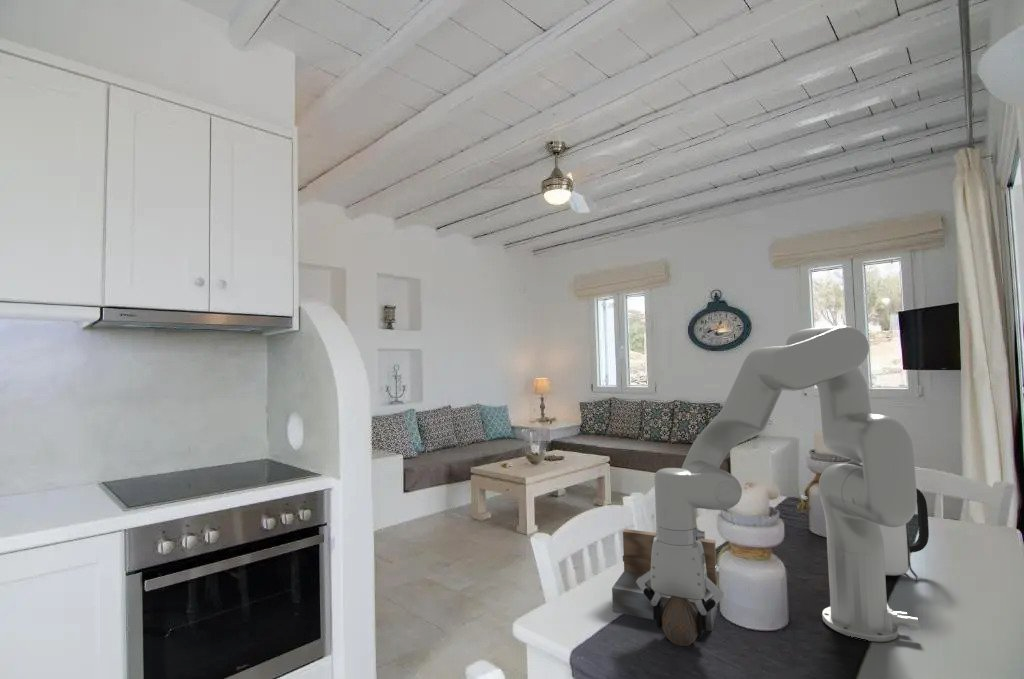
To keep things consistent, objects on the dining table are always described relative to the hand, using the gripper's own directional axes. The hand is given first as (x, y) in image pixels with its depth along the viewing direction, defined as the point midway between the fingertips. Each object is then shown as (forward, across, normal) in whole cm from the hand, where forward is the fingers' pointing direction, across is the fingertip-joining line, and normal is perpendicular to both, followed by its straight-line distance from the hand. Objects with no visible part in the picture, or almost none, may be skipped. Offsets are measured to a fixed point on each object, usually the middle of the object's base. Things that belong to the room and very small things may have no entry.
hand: (680, 628), depth 99 cm
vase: (+3, 0, 0) cm, 3 cm away
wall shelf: (+2, +5, -12) cm, 13 cm away
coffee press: (+3, -40, -53) cm, 66 cm away
